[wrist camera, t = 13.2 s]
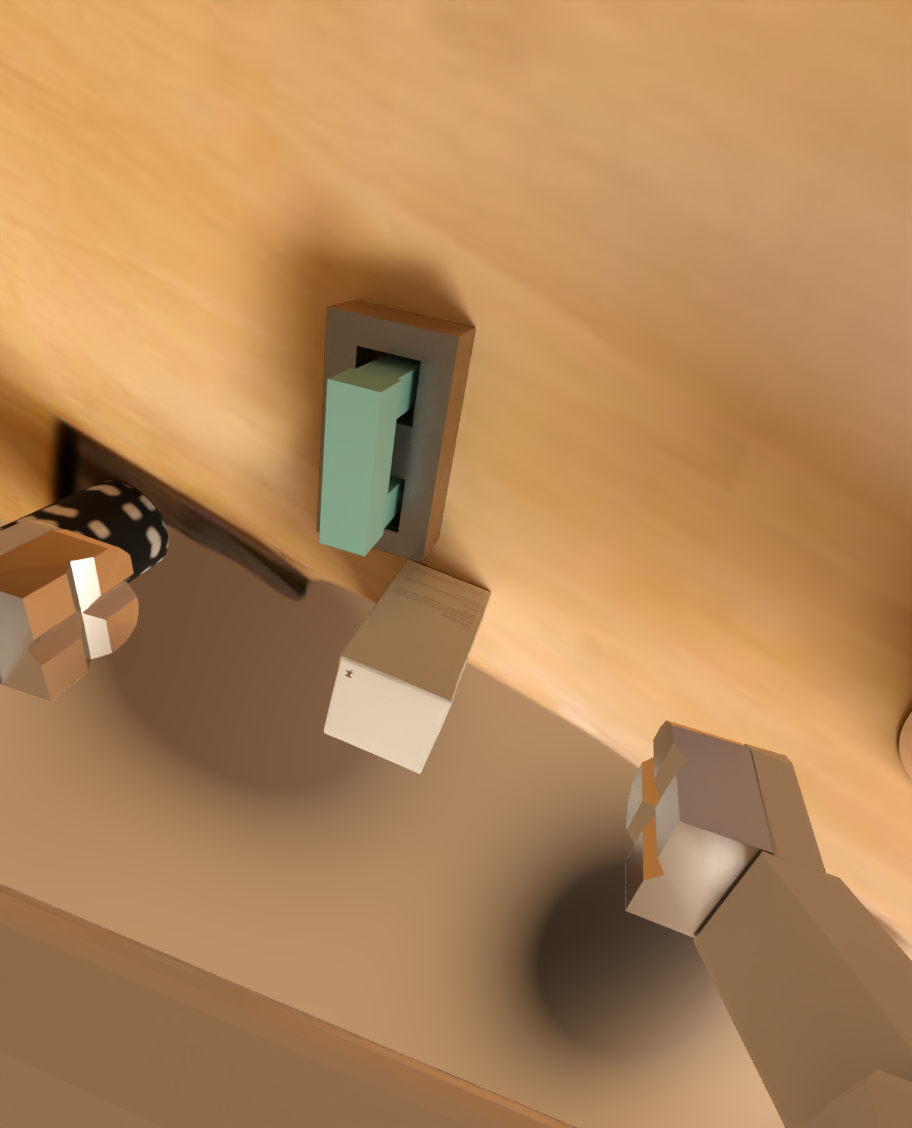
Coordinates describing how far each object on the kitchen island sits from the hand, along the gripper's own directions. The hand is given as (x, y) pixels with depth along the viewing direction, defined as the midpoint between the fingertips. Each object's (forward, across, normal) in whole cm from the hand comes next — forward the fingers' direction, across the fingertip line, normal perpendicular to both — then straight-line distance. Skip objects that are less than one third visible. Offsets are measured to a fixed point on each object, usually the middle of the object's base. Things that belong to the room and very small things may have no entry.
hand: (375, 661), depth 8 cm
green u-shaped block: (+31, +10, +8) cm, 34 cm away
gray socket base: (+31, +10, +8) cm, 34 cm away
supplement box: (+31, +5, +22) cm, 39 cm away
